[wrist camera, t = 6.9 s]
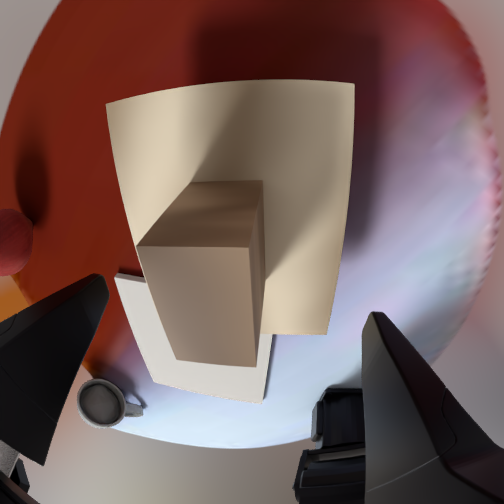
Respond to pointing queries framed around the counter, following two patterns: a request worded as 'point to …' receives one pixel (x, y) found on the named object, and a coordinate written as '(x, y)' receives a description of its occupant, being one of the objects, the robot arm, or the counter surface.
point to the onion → (14, 241)
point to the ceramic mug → (104, 404)
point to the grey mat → (184, 372)
